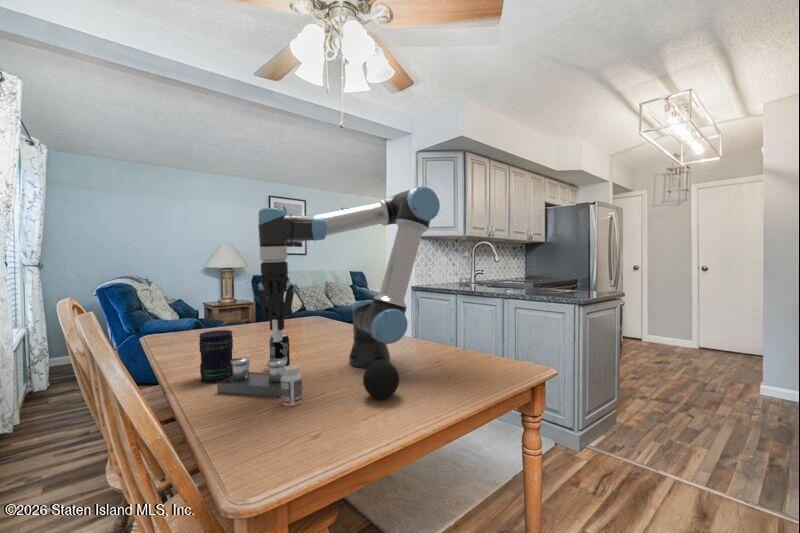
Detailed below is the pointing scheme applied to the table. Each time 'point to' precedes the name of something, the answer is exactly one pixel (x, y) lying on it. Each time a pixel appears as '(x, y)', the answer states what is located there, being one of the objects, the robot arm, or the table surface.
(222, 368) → the storage jar
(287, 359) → the beverage can
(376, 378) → the speaker
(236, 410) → the table surface
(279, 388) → the mount
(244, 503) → the table surface
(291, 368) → the pill bottle
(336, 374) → the table surface
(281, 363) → the knob
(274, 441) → the table surface
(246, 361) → the knob
